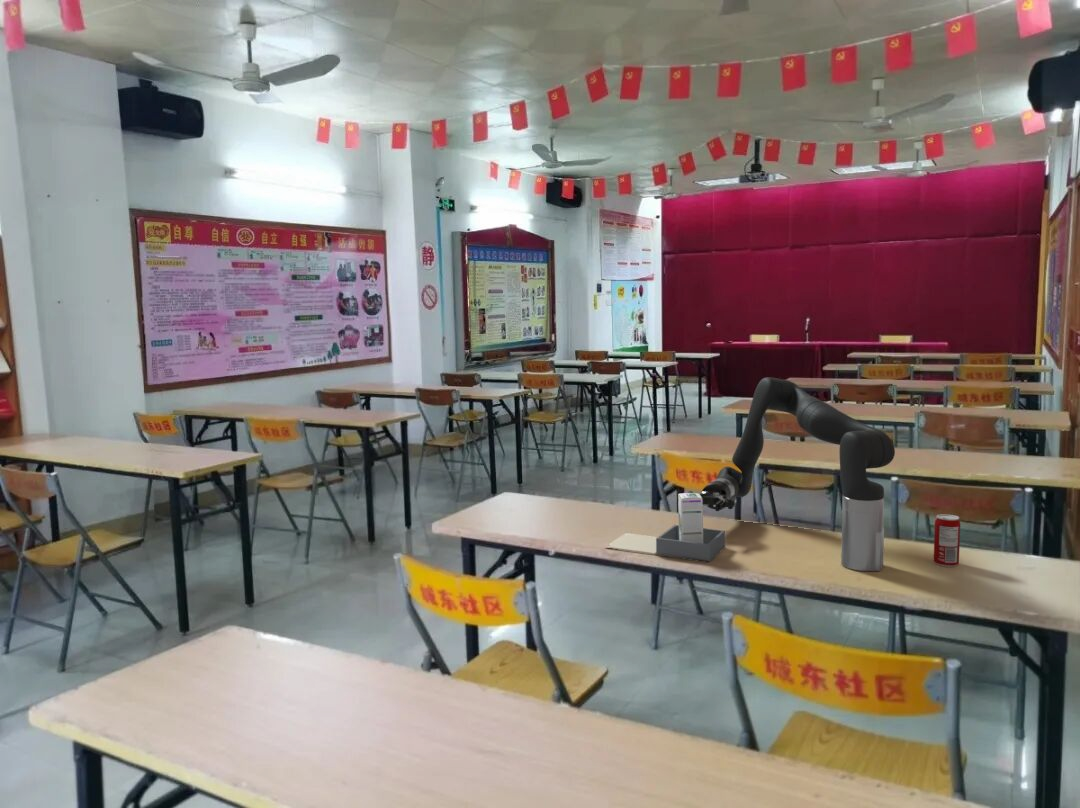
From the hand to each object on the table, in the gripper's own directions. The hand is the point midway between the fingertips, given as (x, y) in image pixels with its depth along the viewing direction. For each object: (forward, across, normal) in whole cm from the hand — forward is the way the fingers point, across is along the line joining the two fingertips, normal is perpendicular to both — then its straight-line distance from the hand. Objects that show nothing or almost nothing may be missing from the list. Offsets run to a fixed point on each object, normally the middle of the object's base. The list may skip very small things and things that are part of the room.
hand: (701, 506), depth 213 cm
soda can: (-7, +59, +10) cm, 60 cm away
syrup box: (+9, 0, +10) cm, 13 cm away
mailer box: (+9, -7, +10) cm, 15 cm away
